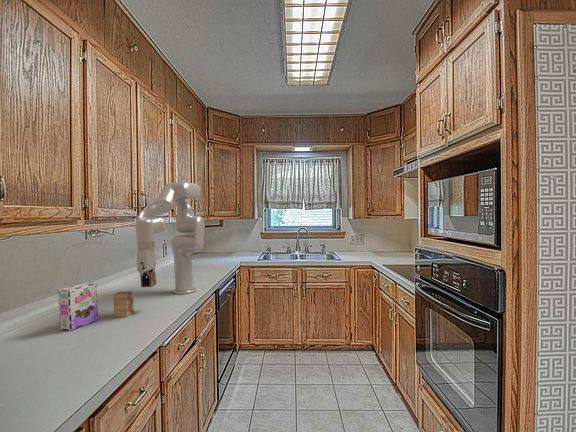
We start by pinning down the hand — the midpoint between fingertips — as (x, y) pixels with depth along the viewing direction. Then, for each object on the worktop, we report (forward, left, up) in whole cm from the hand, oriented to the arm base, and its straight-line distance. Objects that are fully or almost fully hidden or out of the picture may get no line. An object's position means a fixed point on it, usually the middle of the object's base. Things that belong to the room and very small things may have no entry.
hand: (148, 284), depth 171 cm
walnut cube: (0, 0, -1) cm, 1 cm away
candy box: (+20, -21, -12) cm, 31 cm away
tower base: (+7, -9, -12) cm, 17 cm away
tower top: (+7, -9, -7) cm, 13 cm away
